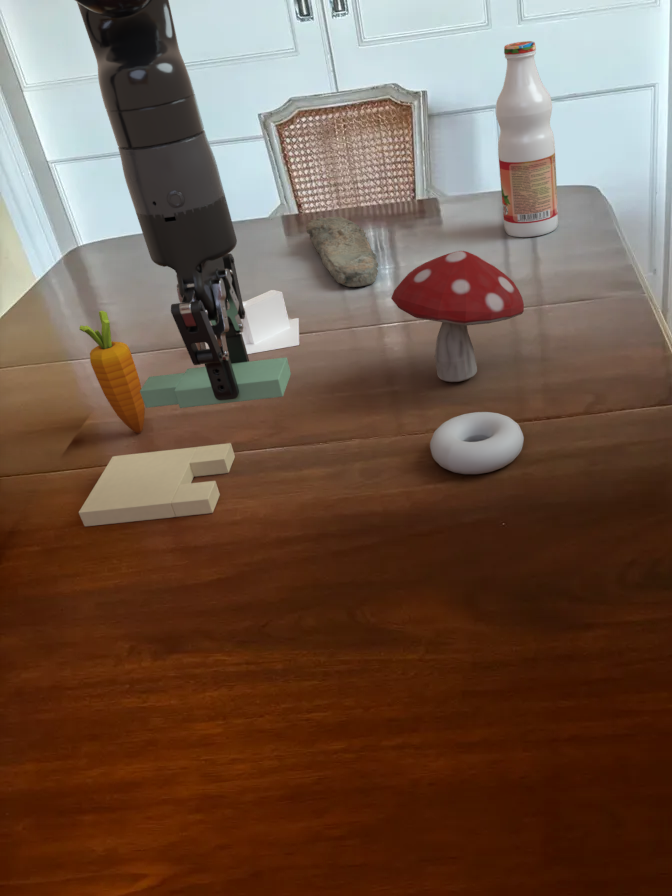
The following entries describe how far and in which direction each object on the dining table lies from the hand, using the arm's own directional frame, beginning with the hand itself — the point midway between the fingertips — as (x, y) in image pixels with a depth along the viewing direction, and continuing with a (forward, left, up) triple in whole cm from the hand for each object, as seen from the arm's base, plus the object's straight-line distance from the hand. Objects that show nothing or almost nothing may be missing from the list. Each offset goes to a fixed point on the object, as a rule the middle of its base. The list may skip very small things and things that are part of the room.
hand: (234, 384), depth 85 cm
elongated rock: (0, +80, -14) cm, 81 cm away
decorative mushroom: (+21, +26, -14) cm, 36 cm away
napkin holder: (-11, +47, -14) cm, 50 cm away
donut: (+22, +5, -14) cm, 27 cm away
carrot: (-20, +20, -14) cm, 31 cm away
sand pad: (-13, +5, -13) cm, 19 cm away
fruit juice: (+33, +83, -14) cm, 91 cm away
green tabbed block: (-2, 0, -1) cm, 2 cm away
